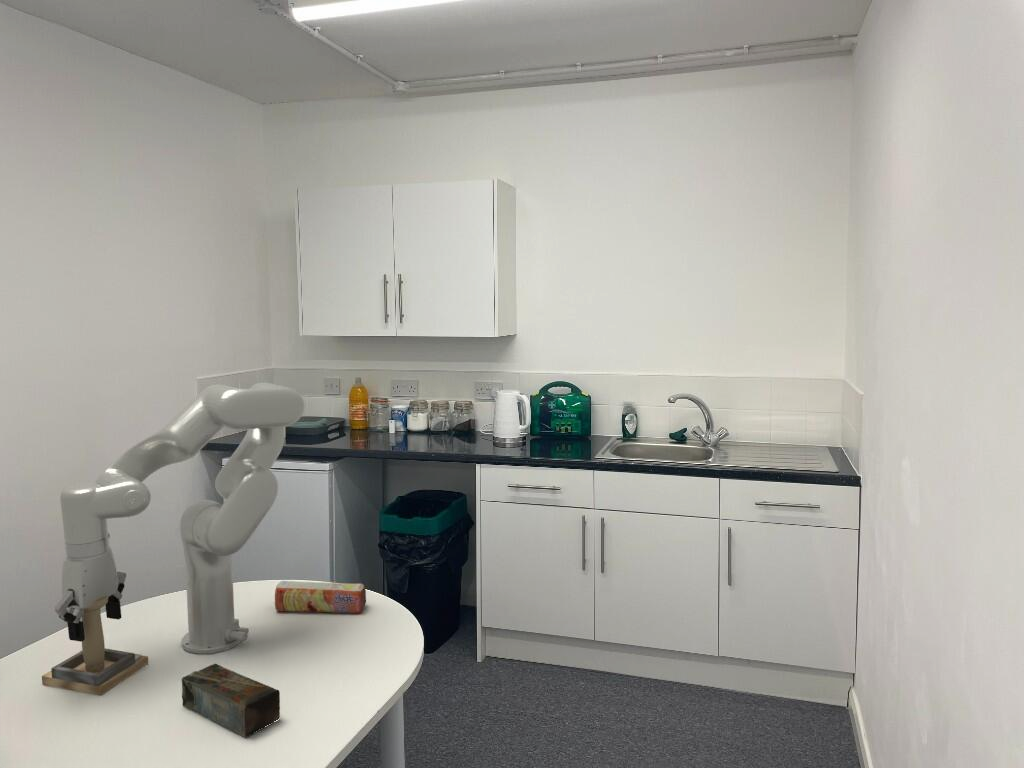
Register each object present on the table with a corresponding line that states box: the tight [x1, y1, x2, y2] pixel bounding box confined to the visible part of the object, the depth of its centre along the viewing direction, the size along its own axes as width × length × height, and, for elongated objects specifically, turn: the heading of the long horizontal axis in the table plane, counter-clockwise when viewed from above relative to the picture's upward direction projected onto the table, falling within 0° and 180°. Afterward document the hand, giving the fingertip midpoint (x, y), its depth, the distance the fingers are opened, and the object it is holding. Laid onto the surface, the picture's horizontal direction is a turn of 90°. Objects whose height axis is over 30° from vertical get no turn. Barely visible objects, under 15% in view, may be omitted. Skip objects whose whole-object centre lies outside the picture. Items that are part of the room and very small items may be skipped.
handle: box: [76, 596, 108, 673], centre depth 163 cm, size 5×6×15 cm
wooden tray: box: [41, 647, 149, 696], centre depth 166 cm, size 14×13×4 cm
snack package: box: [274, 580, 367, 615], centre depth 198 cm, size 21×7×7 cm, turn 88°
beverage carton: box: [181, 663, 281, 738], centre depth 152 cm, size 8×19×7 cm, turn 56°
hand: (96, 628), depth 164 cm, fingers open, 9 cm apart
